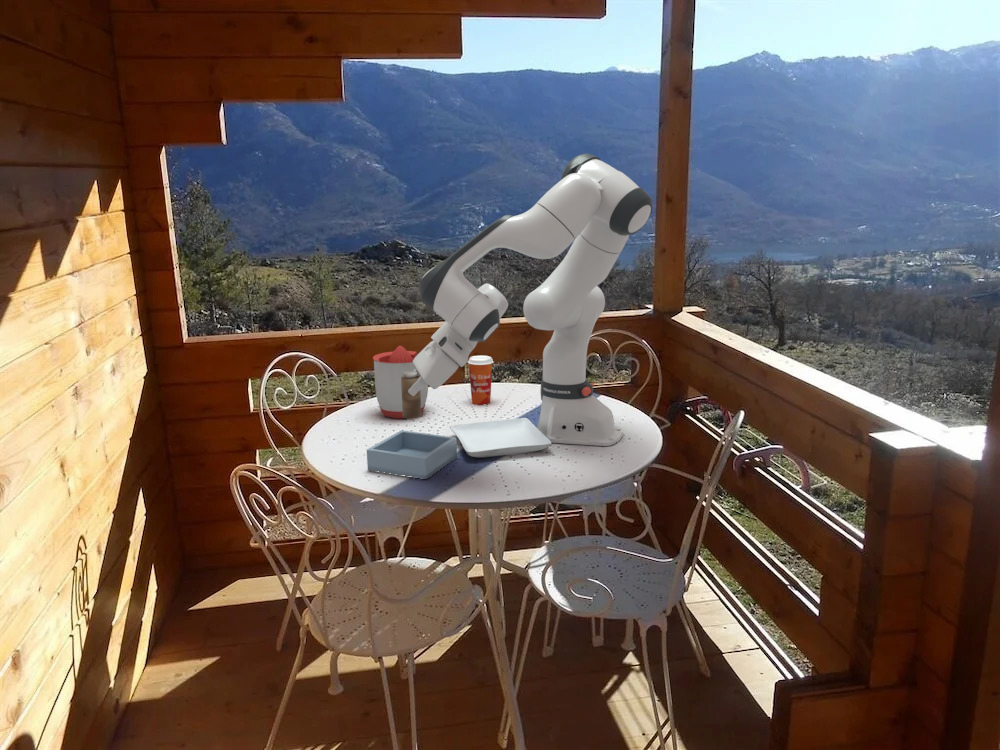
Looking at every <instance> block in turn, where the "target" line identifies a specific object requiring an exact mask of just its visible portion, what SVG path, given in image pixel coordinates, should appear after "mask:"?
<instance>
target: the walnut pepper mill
mask: <svg viewBox="0 0 1000 750" xmlns="http://www.w3.org/2000/svg"><path fill="white" fill-rule="evenodd" d="M419 377H420V376H418V374H417V372H414V371H408V372H404V373H403V376H402V377H401V390H402V412H403V417H404V418H403V419H418V418H420V417H422V413H421V394H420V391H418V392H417V394H416V395H415V396H412V395H411V394H409V392H408V388H409V387H410V386H411V385H413V384H414V383H415V382H416V381H417V380H418V378H419Z"/></svg>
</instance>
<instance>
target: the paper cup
mask: <svg viewBox="0 0 1000 750" xmlns="http://www.w3.org/2000/svg"><path fill="white" fill-rule="evenodd" d="M467 363H468V369H469V372H468V373H469V382H470V385H469V386H470V394H471V395H470V396H471V397H470V398H471V403H472V404H473V405H475V404H477V405H476V406H484V405H483V404H486V405H489V404H491V400H492V399H491V395H492V377H493V375H492V373H493V363H495V362H494V361H493V358H492V357H491V356H488V355H473V356H469V358H468V361H467ZM488 403H489V404H488Z"/></svg>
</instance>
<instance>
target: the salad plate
mask: <svg viewBox="0 0 1000 750" xmlns="http://www.w3.org/2000/svg"><path fill="white" fill-rule="evenodd" d="M449 428H450V430H451V432H452V433H453V434H454V435H455V436H456V438H457V439H458V440H459V442H460V443H461V445H462V448H463V450H464V451H465V452H466V454H467V455H468V456H470V457H473V458H491V457H501V456H508V455H509V456H511V455H517V454H526V453H527V454H528V453H529V454H530V453H533V452H539V451H542V450H545V449H548V448H549V447H550V446H552V443H551V441H550V440H549V439H548V438H547V437H546V436H545V435H544V434H543V433H541V432H540V431H539V430H538V429H537V426H536V425H535V424H533V422H531V421H530V420H529V419H528V418H526V417H521V418H518V417H517V418H509V419H500V420H499V419H498V420H488V421H479V422H472V423H470V422H469V423H463V424H462V423H461V424H454V425H450V426H449Z"/></svg>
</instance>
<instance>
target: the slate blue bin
mask: <svg viewBox="0 0 1000 750" xmlns="http://www.w3.org/2000/svg"><path fill="white" fill-rule="evenodd" d="M457 439H458V437H453V436H448V435H447V436H446V435H439V434H432V433H425V432H419V431H409V430H405V429H401V430H399V431H398V432H396V433H394V434H393V435H391V436H388V437H387V438H385V439H383V440H382V441H380V442H378V443H376V444H374V445H373V446H371V447H369V448H367V449H366V460H367V461H366V464H367V471H368V470H372V471H371V472H373V471H379V472H385V473H391V474H397V475H405V476H412V477H418V478H423V479H427V478H429V477H430V476H431V477H433V476H434V475H435V474H436V472H437V471H438V472H440V471H441V470H442V469H444V468H445V467H446V466H448V465H449V464H451V463H452V462H453V461H454V459H455V460H456V459H457V458H458V448H457V446H458V445H457V443H458V442H457ZM452 460H453V461H452ZM451 461H452V462H451ZM448 463H449V464H448ZM447 464H448V465H447ZM445 465H446V466H445ZM444 466H445V467H444ZM443 467H444V468H443ZM441 468H442V469H441ZM440 469H441V470H440ZM379 472H378V473H379ZM438 472H437V473H438ZM385 473H384V474H385ZM434 473H435V474H434ZM391 474H390V475H391ZM433 474H434V475H433ZM397 475H396V476H397ZM432 475H433V476H432ZM431 477H430V478H431ZM430 478H429V479H430ZM427 480H428V479H427Z"/></svg>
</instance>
